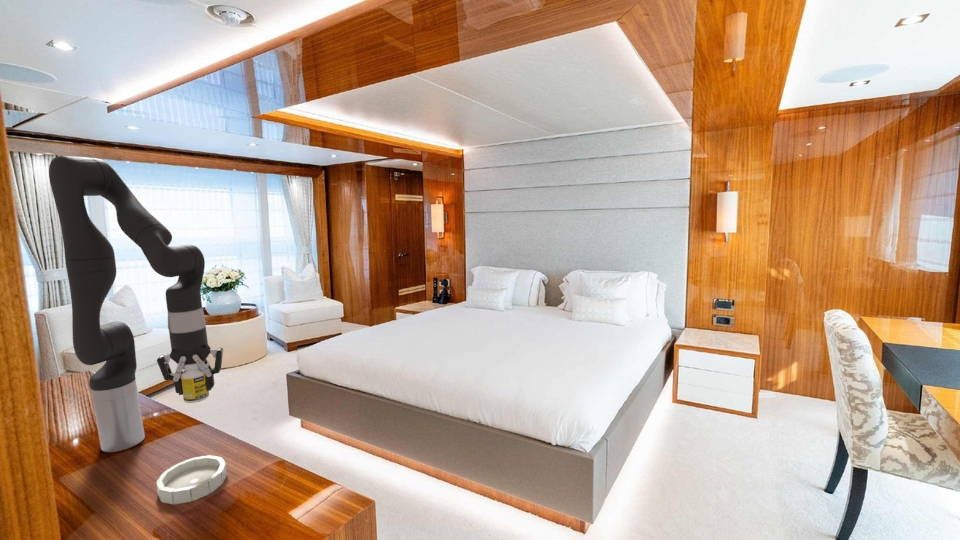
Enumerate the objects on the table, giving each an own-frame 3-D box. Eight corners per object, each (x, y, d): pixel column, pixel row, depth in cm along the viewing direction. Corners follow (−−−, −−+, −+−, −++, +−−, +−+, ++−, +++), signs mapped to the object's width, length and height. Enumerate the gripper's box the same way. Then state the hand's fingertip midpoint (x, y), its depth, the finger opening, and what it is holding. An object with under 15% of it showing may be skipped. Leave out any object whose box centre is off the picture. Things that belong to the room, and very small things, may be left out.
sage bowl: (153, 484, 101) (152, 473, 100) (217, 460, 110) (215, 449, 109) (165, 512, 92) (163, 500, 91) (233, 483, 101) (232, 471, 100)
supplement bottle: (197, 404, 107) (192, 367, 105) (178, 403, 108) (173, 365, 106) (214, 395, 112) (210, 358, 110) (196, 393, 113) (192, 357, 111)
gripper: (223, 319, 113) (230, 381, 115) (156, 326, 107) (165, 390, 110) (218, 327, 106) (226, 392, 109) (147, 335, 100) (157, 403, 103)
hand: (195, 391), depth 109 cm, fingers closed on supplement bottle, 5 cm apart
